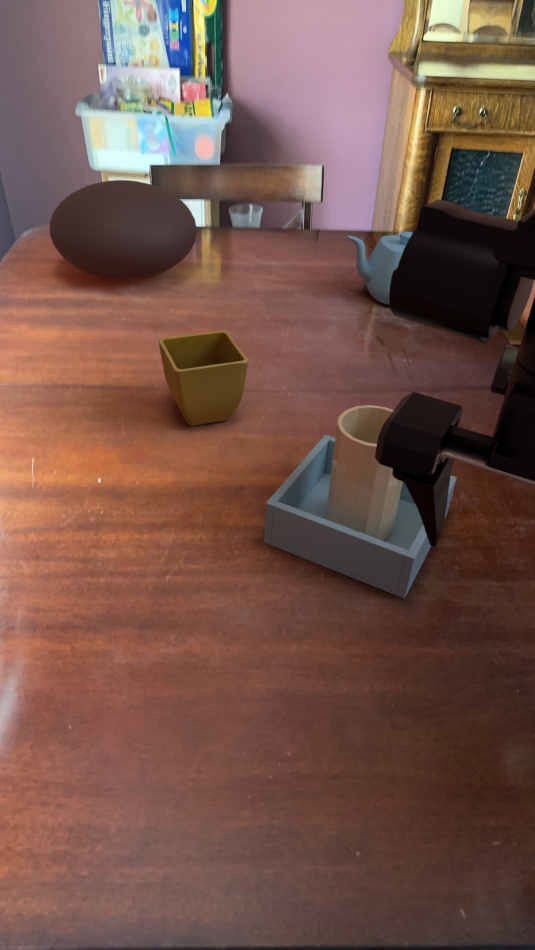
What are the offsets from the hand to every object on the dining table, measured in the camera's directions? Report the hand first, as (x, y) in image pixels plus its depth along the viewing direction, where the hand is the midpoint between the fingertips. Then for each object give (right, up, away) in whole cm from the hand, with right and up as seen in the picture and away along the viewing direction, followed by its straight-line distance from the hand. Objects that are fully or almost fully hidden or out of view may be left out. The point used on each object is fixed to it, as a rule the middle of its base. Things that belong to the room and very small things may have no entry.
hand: (498, 566), depth 47 cm
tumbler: (-7, +1, +22) cm, 23 cm away
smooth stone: (-41, +43, +75) cm, 95 cm away
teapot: (+6, +38, +71) cm, 81 cm away
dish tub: (-7, +1, +22) cm, 23 cm away
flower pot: (-24, +14, +38) cm, 47 cm away
